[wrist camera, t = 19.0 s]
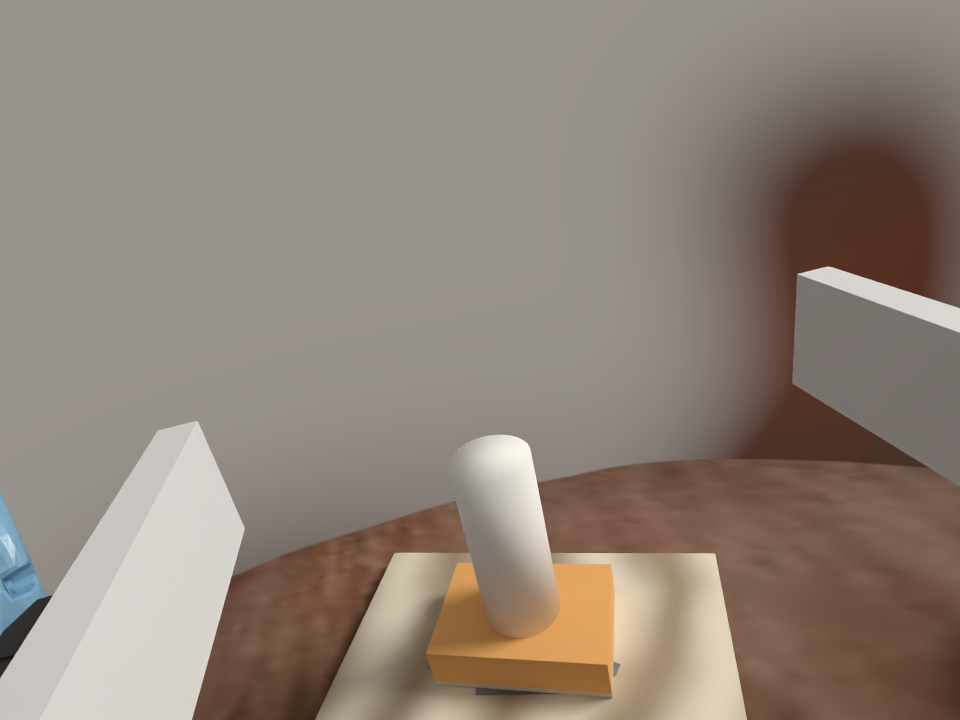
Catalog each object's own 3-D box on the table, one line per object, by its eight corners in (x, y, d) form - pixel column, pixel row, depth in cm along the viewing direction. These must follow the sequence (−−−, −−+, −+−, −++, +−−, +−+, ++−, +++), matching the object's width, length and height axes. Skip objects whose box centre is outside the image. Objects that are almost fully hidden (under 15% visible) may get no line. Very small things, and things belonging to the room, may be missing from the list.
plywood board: (315, 746, 33) (308, 732, 33) (398, 564, 45) (394, 552, 45) (758, 793, 27) (757, 776, 26) (715, 567, 39) (714, 552, 39)
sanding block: (435, 684, 34) (375, 502, 29) (465, 590, 40) (420, 427, 35) (612, 697, 31) (580, 498, 26) (615, 594, 37) (589, 417, 32)
